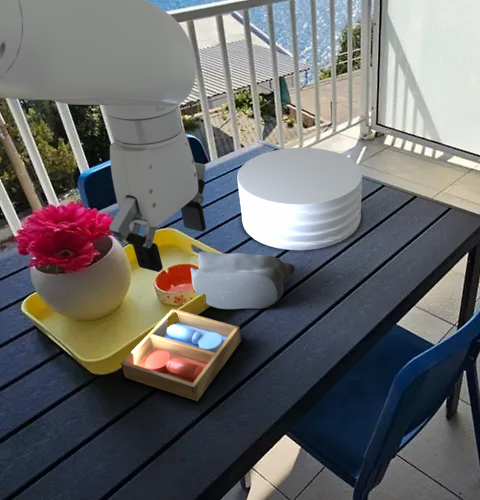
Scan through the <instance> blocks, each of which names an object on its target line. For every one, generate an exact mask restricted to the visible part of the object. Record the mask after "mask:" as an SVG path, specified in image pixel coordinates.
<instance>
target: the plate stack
mask: <svg viewBox="0 0 480 500" xmlns="http://www.w3.org/2000/svg"><path fill="white" fill-rule="evenodd" d="M236 175H237V177H236V179H237V186H238V196H239V203H240V212H241V221H242V225H243V228H244V231H245V232H246V233H247V234H248V235H249V236H250V237H251V238H252V239H254V240H256V241H257V242H259V243H261V244H263V245H266V246H268V247H272V248H275V249H279V250H288V251H311V250H317V249H318V250H319V249H323V248H327V247H330V246H333V245H337V244H338V243H341V242H343V241H344V240H346V239H348V238H349V237H351V236H352V235H353V234H354V233H355V232H356V230H357V229H358V228H359V226H360V224H361V218H362V217H361V216H362V197H363V195H362V191H363V171H362V168H361V167H360V166H359V164H358V163H357V162H356V161H354V160H353V159H352V158H350V157H348V156H347V155H344V154H342V153H339V152H337V151H333V150H328V149H324V148H317V147H288V148H280V149H275V150H271V151H267V152H264V153H260V154H259V155H256V156H254V157H252V158H250V159H249V160H247V161H246V162H245V163H243V165H242V166H241V167H240V168H239V170H238V172H237V174H236Z"/></svg>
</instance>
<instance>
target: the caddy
mask: <svg viewBox="0 0 480 500" xmlns="http://www.w3.org/2000/svg"><path fill="white" fill-rule="evenodd" d="M174 312H176V313H177V315H178V318H179V321H180V322H177V321H176V322H175V323H174V324H175V325H179V326H182V327H186V328H189V329H193V330H196V331H199V332H201V334H202V336H203V335H204V334H207V333H211V332H214V333H218V334H219V335H220V336H221V337H222V342H223V344H222V346H221V347H220V348H219V350H218V351H217V352H216V353H215V352H211V351H208V350H204V349H201V348H199V344H192V343H189V342H186V341H182V340H179V339H176V338H172V337H170V336H168V334H167V328H168V327H167V326H168V325H167V322H168V317H169V316H170V315H172V314H173V313H174ZM241 342H242V335H241V329H240V326H238V325H233V324H229V323H227V322H223V321H220V320H219V321H218V320H215V319H213V318H208V317H205V316H201V315H197V314H194V313H191V312H187V311H182V310H179V309H175V308H171V310H170V311H169V312H168V313H167V314H166V315H165V316H164V317H163V318H162V319H161V320H160V321H159V322H158V323H157V324H156V325H155V326H154V328H153V329H152V330H151V331H150V332H148V334H147V335H146V336H145V337H144V338H143V339H142V340H141V341H140V342H139V343H138V344H137V345H136V346H135V347H134V349H132V351H130V353H129V354H128V355H127V356H126V357H125V358H124V359H123V360H122V361H121V362H120V367H121V369H122V371H123V374H124V377H125V378H127V379H128V380H132V381H134V382H138V383H141V384H144V385H146V386H149V387H150V386H151V387H153V388H156V389H158V390H159V389H160V390H163V391H166V392H168V393H171V394H175V395H177V396H181V397H184V398H187V399H190V400H193V401H196V402H198V401H199V400H200V398H201V397H202V396H203V394H204V393H205V392H206V390H207V389H208V387H209V386H210V385H211V383H212V382H213V381H214V379H215V378H216V377H217V375H218V373H219V372H220V371H221V370H222V368H223V367H224V366H225V364H226V363H227V361H228V360H229V358H230V357H231V356H232V355H233V353H234V351H236V349H237V348H238V346H239V345H240V343H241ZM157 351H166V352H168V353H169V354H170V356H171V359H172V358H176V359H179V360H183V361H186V362H189V363H193V364H196V365H199V366H202V367H203V368H204V369H203V371H202V372H201V373H200V374H199V376H198V377H197V378H196V380H194V379H191V378H188V377H185V376H181V375H178V374H175V373H172V372H169V371H166V372H164V373H159V372H156V371H153V370H150V369H147V366H146V359H147V358H148V356H149V355H151V354H152V353H154V352H157Z"/></svg>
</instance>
